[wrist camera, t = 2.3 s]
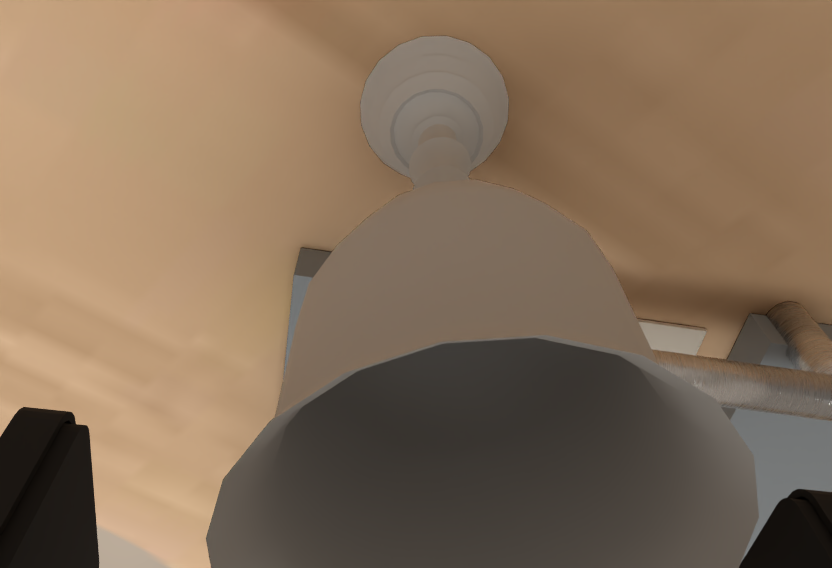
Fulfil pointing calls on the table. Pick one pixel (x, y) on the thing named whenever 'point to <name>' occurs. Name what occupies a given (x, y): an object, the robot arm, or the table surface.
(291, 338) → the grey rectangular frame
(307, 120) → the table surface
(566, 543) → the chalice
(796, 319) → the metal bar handle
